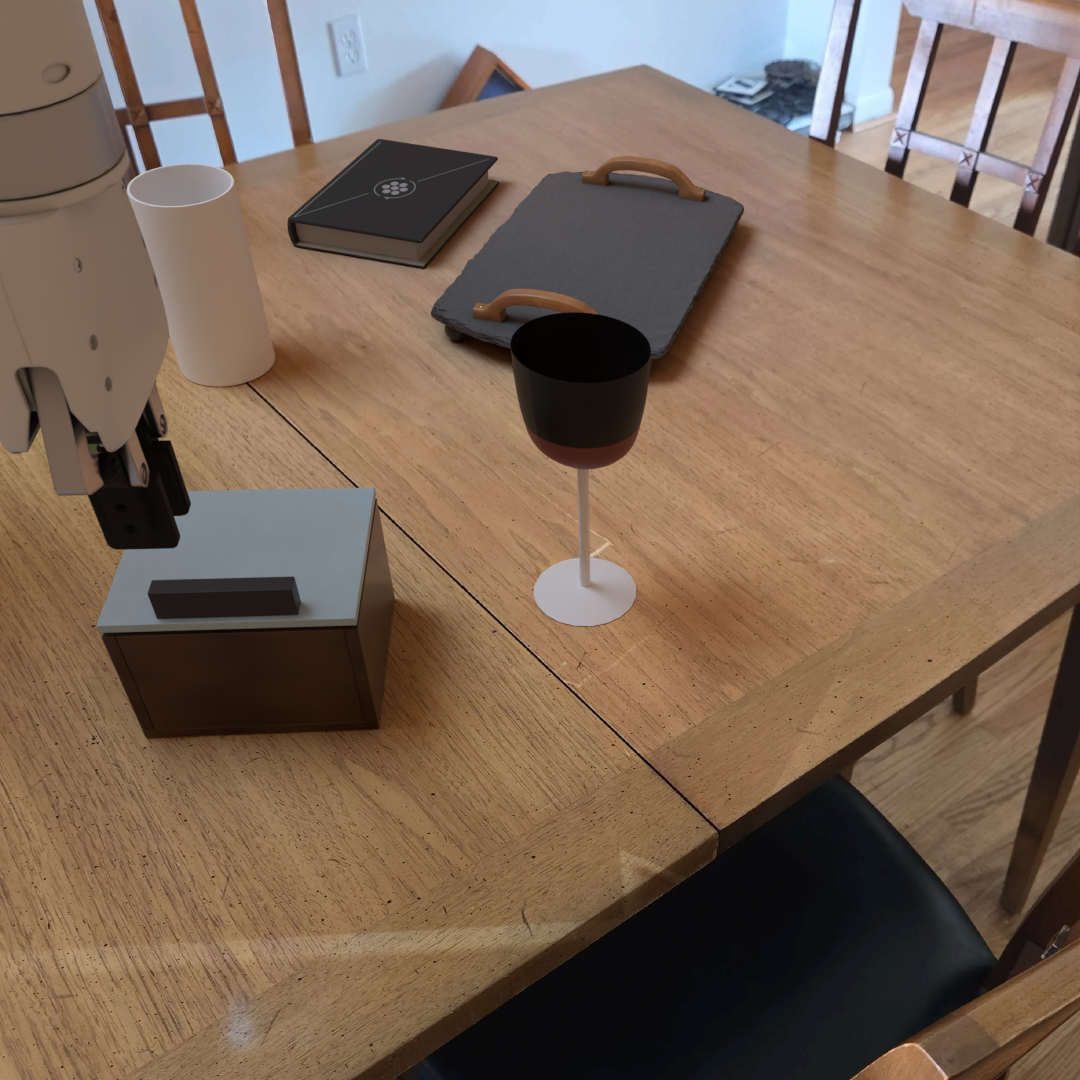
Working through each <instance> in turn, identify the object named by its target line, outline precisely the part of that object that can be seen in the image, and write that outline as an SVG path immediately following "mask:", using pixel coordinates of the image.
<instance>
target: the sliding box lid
mask: <svg viewBox="0 0 1080 1080" xmlns="http://www.w3.org/2000/svg"><path fill="white" fill-rule="evenodd" d="M187 492H188V495H189V499H190V502H191V506H190V509H189V512H188V514H186V515H183V516H174V518H175V521H176V524H177V527H178V530H179V533H180V540H179V543H178V546H177V547H175V548H170V549H128V550H123V552H122V556H121V558H120V560H119V563H118V566H117V569H116V571H115V574H114V577H113V579H112V582H111V584H110V588H109V590H108V593H107V595H106V598H105V600H104V603H103V607H102V609H101V611H100V614H99V617H98V620H97V623H96V630H97V631H98V633H99V634H103V633H116V632H150V631H183V630H216V629H250V628H283V627H317V626H350V625H357V620H358V613H359V606H360V599H361V593H362V586H363V579H364V572H365V566H366V559H367V552H368V545H369V539H370V532H371V525H372V519H373V512H374V505H375V498H376V499H377V491H376V488H375V487H373V486H372V487H332V488H331V487H329V488H328V487H327V488H326V487H324V488H323V487H321V488H277V489H274V488H273V489H230V490H229V489H227V490H225V489H224V490H223V489H221V490H219V489H218V490H187Z"/></svg>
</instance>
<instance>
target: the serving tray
mask: <svg viewBox="0 0 1080 1080" xmlns="http://www.w3.org/2000/svg"><path fill="white" fill-rule="evenodd" d="M616 171H633V172H641V173H647V174H652V175H656V177H655V176H649V175H646V174H632V173H618V172H616ZM657 176H659V177H657ZM744 212H745V207H744V204H742V203H741V202H739V201H738V200H736V199H735V198H732V197H731V196H728V195H723V194H721V193H719V192H714V191H711V190H710V189H706V188H703V187H700V186H697V185H695V184H694V183H693V182H692V180H691V179H690V178H689V177H688V176H687V175H686V174H685V172H684V171H683V170H682V169H680V168H679V167H677V166H676V165H673V164H672V163H668V162H666V161H662V160H659V159H655V158H650V157H642V156H636V155H635V156H634V155H633V156H632V155H623V156H614V157H612V158H610V159H608V160H606V161H605V162H604V163H602V164H601V165H600V166H599V167H598V168H597V169H595V170H587V169H585V170H584V171H573V172H572V171H559V172H555V173H548V174H547V175H545V176H544V177H542V178H541V180H540V181H539V183H538V184H537V185H535V186H534V187H533V189H532V191H530V193H528V195H527V196H525V198H524V199H523V200H522V201H521V202H520V203H518V205H517V206H516V207H515V208H514V211H513V212H512V214H511V215H510V217H509V219H507V220H506V221H505V222H504V223H503V224H501V225H500V226H499V227H497V228H496V230H495V231H494V232H493V233H492V234H491V235H490V236H489V238H488V240H487V242H485V243H484V244H483V247H482V248H481V249H480V250H479V251H478V252H477V253H476V254H474V255H473V258H470V259H469V260H467V262H466V264H465V265H464V268H463V269H462V270H461V274H459V275H457V277H456V278H455V280H454V282H452V283H451V284H450V285H448V286H447V287H446V288H445V290H444V292H443V293H442V295H441V296H440V297H439V298H438V299H437V300H435V302H434V304H433V306H432V309H431V310H430V316H431V318H433V319H434V320H435V321H437V322H438V323H441V324H442V325H444V333H445V336H446V337H447V338H448V339H449V341H450V342H452V343H462V342H464V340H465V338H466V336H469V337H472V338H474V339H477V340H479V341H481V342H485V343H490V344H494V345H497V346H499V347H502V348H505V349H509V350H511V344H510V343H511V339H512V336H513V335H514V333H515V332H516V331H517V330H518V328H520V327H521V326H522V325H524V324H525V323H527V322H529V321H531V320H533V319H536V318H539V317H542V316H546V315H551V314H557V313H569V312H581V313H592V314H598V315H604V316H608V317H612V318H615V319H618V320H621V321H623V322H625V323H627V324H629V325H631V326H633V327H634V328H636V329H637V330H639V331H640V332H641V333H642V334H643V335H644V336H645V337H646V338H647V340H648V342H649V343H650V347H651V361H650V371H652V369H653V366H654V360H657V359H661V358H663V357H665V356H666V355H667V353H668V352H669V351H670V349H671V347H672V346H673V344H674V342H675V340H676V338H677V336H678V334H679V333H680V332H681V330H682V328H683V325H684V324H685V321H686V320H687V317H688V316H689V314H690V312H691V311H692V310H693V308H694V305H695V303H696V301H697V300H698V298H699V296H700V293H701V292H702V291H703V290H704V288H705V285H706V282H707V281H708V279H709V278H710V277H711V276H712V271H713V270H714V269H715V268H716V265H717V263H718V261H719V259H720V258H721V257H722V254H723V252H724V250H725V248H726V247H727V245H728V242H729V240H730V239H731V237H732V235H733V234H734V231H735V230H736V228H737V226H738V224H739V222H740V221H741V218H742V217H743V215H744Z"/></svg>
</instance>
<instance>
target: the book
mask: <svg viewBox="0 0 1080 1080" xmlns="http://www.w3.org/2000/svg"><path fill="white" fill-rule="evenodd" d="M498 160H499V157H498V156H495V155H489V154H482V153H475V152H468V151H464V150H463V151H462V150H456V149H450V148H442V147H435V146H429V145H424V144H418V143H417V144H416V143H410V142H403V141H397V140H390V139H384V138H377V139H376V140H375V141H374V142H372V143H371V144H370V145H369V146H368V147H366V149H364V150H363V151H362V152H361V153H360V154H359V155H357V156H356V158H354V159H353V160H352V161H351V162H350V163H349V164H347V166H345V167H344V168H343V169H342V170H341V171H339V172H338V173H337V175H335V176H334V177H333V178H331V180H329V181H328V182H327V183H326V184H325V185H323V187H321V188H320V189H319V190H318V191H317V192H315V194H314V195H312V196H311V197H310V198H309V199H308V200H307V201H305V202H304V203H303V204H302V205H301V206H300V207H299V208H298V209H297V210H295V211H294V212H293V213H292V214H290V216H289V217H288V218H287V223H286V224H287V233H288V236H289V240H290V241H291V243H292V245H293V247H297V248H302V249H307V250H308V249H309V250H313V251H314V250H315V251H320V252H326V253H332V254H337V255H344V256H349V257H355V258H362V259H367V260H374V261H378V262H384V263H390V264H396V265H402V266H408V267H414V268H420V269H426V267H427V266H429V264H430V263H431V261H433V259H434V258H435V257H436V256H437V255H438V254H439V252H440V251H441V250H442V249H443V248H444V247H445V246H446V245H447V244H448V242H449V241H450V240H451V239H452V238H453V237H454V236H455V234H456V233H457V232H458V231H459V230H460V229H461V228H462V226H463V225H464V224H465V223H466V222H467V221H468V220H469V219H470V217H471V216H472V215H473V214H474V213H475V212H476V211H477V209H479V207H480V206H481V205H482V204H483V203H484V201H485V200H486V199H487V198H488V197H489V196H490V194H492V193H493V191H494V190H495V189H496V188H497V187H498V186H499V184H500V181H499V180H497V179H490V178H489V170H490V169H491V168H492V167H493V166H494V165H495V163H496V162H497V161H498Z"/></svg>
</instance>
